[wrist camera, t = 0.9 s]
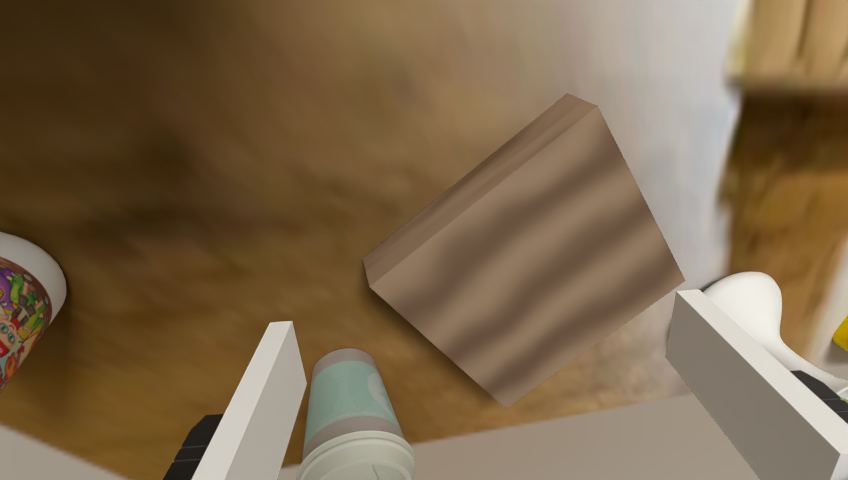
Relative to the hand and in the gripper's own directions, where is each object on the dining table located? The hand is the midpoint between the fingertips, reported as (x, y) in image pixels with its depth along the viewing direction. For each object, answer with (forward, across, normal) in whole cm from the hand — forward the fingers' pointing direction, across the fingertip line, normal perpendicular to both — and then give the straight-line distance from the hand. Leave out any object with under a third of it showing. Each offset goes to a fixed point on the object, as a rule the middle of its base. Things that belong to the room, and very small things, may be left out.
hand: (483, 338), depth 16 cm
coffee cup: (+21, -10, -18) cm, 29 cm away
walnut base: (+23, +6, -9) cm, 26 cm away
